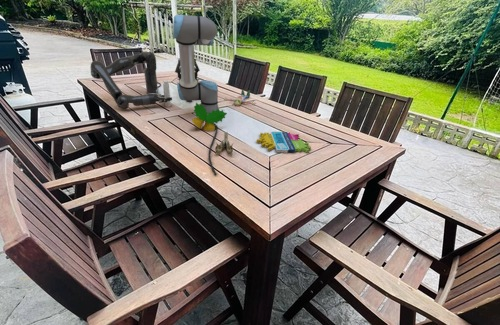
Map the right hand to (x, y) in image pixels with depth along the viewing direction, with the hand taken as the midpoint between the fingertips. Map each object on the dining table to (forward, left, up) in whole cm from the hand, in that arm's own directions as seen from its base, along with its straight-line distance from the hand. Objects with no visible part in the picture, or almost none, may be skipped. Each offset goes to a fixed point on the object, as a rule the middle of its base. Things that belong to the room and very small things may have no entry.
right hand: (188, 81), depth 204 cm
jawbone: (-91, -12, -16) cm, 93 cm away
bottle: (-9, +17, -16) cm, 25 cm away
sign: (-86, -47, -16) cm, 99 cm away
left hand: (-8, +15, -10) cm, 20 cm away
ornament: (-59, -8, -16) cm, 61 cm away
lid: (+1, 0, -14) cm, 14 cm away
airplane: (+54, -7, -16) cm, 56 cm away
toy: (-2, -43, -16) cm, 46 cm away
